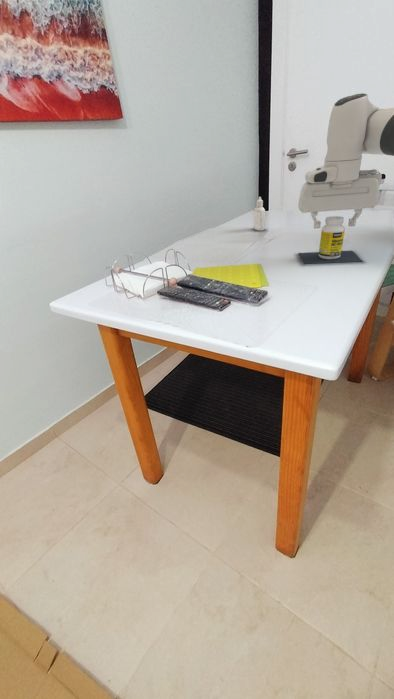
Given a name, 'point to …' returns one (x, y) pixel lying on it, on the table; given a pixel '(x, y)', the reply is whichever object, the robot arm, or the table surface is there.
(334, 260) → the mat
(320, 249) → the pill bottle
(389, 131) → the robot arm
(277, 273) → the table surface
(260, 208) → the eye dropper bottle
